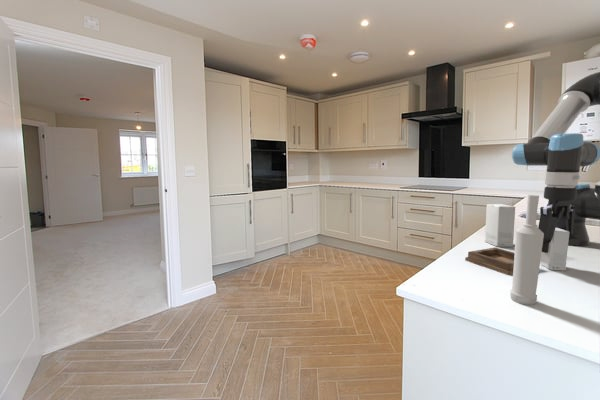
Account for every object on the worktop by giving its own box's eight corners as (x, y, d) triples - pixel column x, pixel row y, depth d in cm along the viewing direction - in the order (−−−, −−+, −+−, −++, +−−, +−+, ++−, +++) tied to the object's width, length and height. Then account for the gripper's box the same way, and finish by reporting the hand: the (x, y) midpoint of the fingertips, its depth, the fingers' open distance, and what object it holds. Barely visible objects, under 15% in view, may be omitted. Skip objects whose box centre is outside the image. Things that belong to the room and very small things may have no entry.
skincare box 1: (513, 247, 117) (517, 206, 115) (495, 247, 117) (499, 206, 115) (499, 241, 126) (502, 203, 124) (483, 241, 126) (486, 203, 124)
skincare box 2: (565, 271, 92) (570, 231, 91) (549, 270, 93) (553, 231, 92) (553, 264, 98) (557, 227, 97) (538, 263, 99) (542, 226, 97)
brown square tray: (493, 255, 107) (494, 246, 107) (538, 268, 95) (539, 258, 94) (465, 260, 102) (465, 251, 102) (507, 274, 89) (508, 264, 89)
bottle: (512, 293, 77) (522, 193, 74) (538, 300, 73) (549, 195, 70) (507, 300, 73) (517, 195, 70) (534, 307, 70) (546, 197, 66)
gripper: (555, 188, 85) (546, 269, 88) (594, 186, 93) (585, 260, 96) (526, 186, 92) (519, 261, 95) (565, 184, 100) (557, 253, 103)
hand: (552, 260), depth 95 cm, fingers closed on skincare box 2, 7 cm apart
